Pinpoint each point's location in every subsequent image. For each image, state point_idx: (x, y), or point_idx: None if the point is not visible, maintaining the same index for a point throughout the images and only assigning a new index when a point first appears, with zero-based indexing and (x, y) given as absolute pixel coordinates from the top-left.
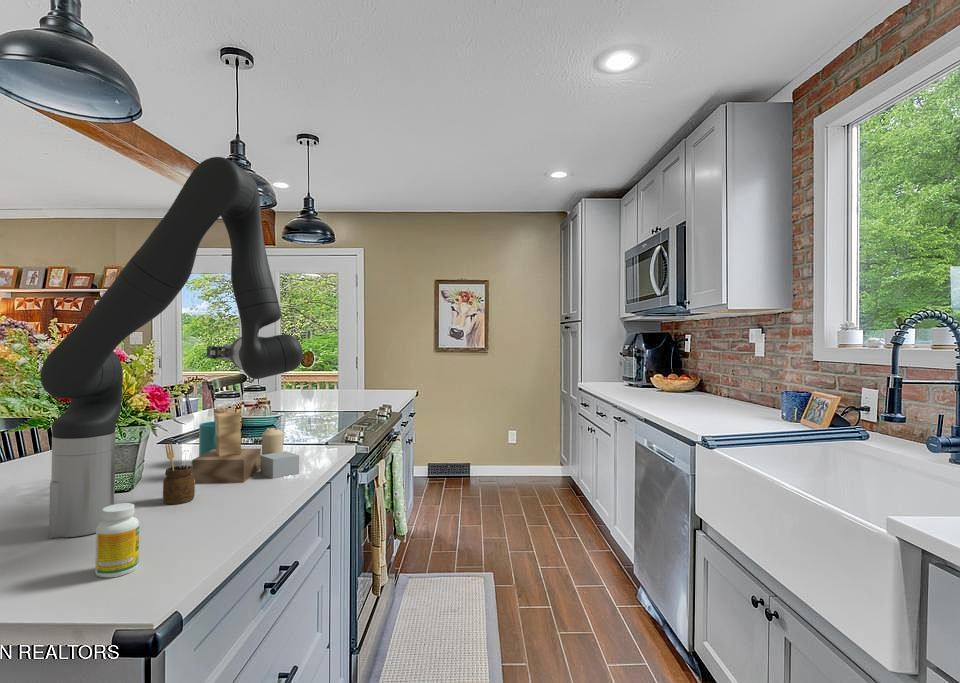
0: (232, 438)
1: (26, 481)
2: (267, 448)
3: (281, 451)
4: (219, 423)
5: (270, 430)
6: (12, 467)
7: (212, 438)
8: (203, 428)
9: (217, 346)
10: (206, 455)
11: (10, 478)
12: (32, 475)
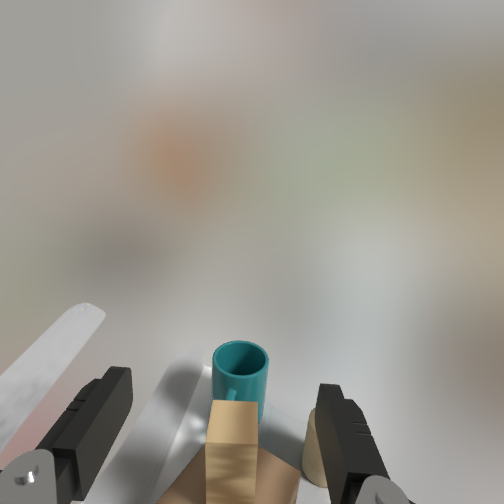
0: (236, 487)
1: (16, 378)
2: (315, 455)
3: None
4: (207, 455)
5: None
6: (60, 320)
7: (225, 393)
8: (214, 369)
9: (13, 476)
10: (189, 480)
11: (21, 357)
12: (44, 356)
